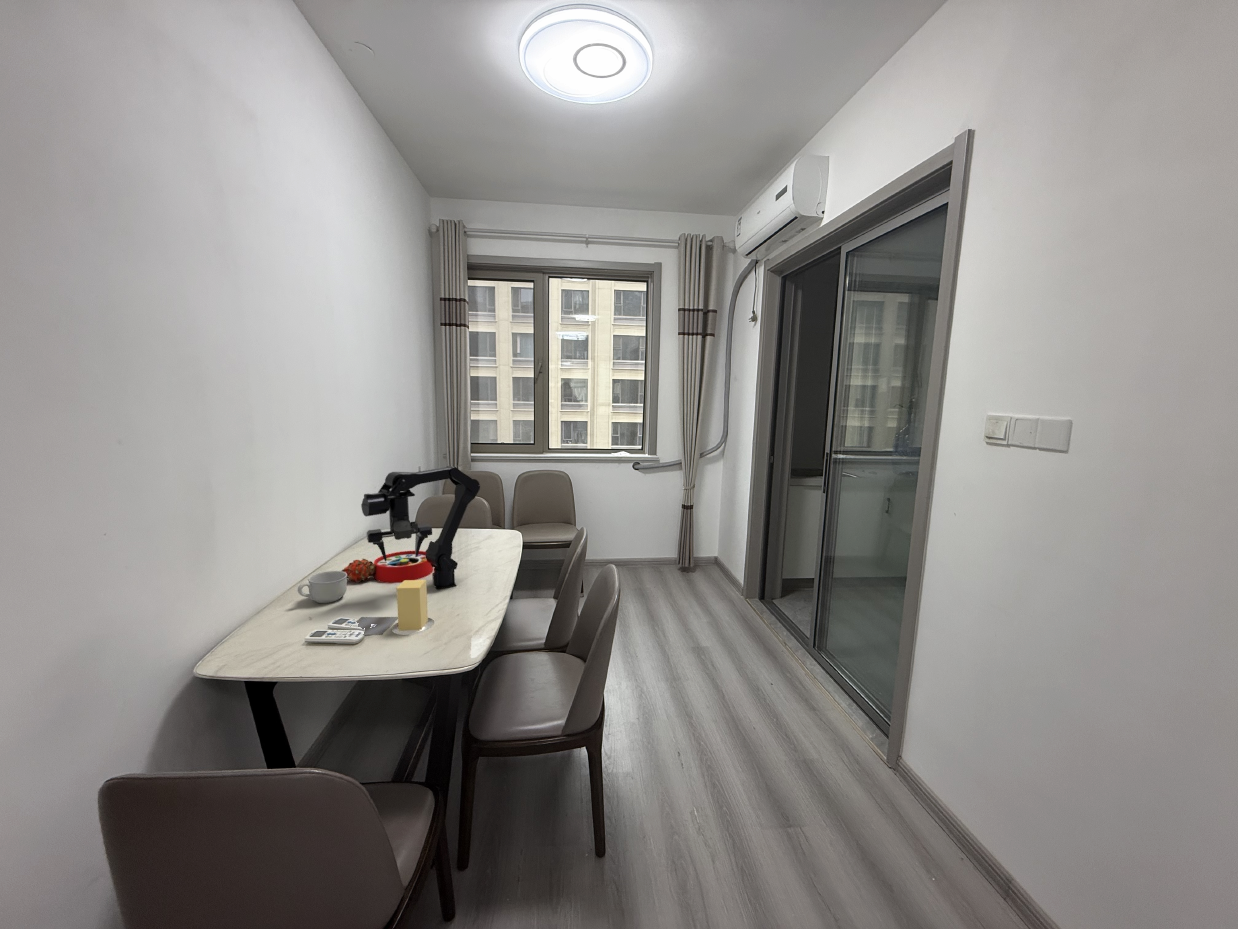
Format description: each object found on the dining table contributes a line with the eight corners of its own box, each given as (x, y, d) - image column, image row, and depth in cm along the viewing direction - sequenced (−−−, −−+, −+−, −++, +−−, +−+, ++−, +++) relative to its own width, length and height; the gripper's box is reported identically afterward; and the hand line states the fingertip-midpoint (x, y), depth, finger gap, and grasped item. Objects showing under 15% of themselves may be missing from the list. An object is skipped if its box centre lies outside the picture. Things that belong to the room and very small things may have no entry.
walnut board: (333, 643, 126) (332, 639, 126) (363, 616, 142) (363, 613, 142) (425, 643, 127) (424, 639, 127) (445, 616, 143) (445, 613, 143)
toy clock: (440, 559, 178) (382, 571, 165) (441, 574, 179) (383, 587, 166) (421, 547, 193) (367, 557, 180) (422, 561, 194) (368, 572, 181)
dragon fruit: (380, 583, 173) (343, 592, 169) (380, 564, 179) (344, 572, 175) (374, 570, 167) (336, 578, 164) (374, 551, 173) (337, 559, 169)
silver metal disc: (430, 614, 142) (429, 600, 142) (438, 629, 133) (437, 614, 132) (389, 623, 136) (388, 609, 136) (394, 639, 127) (394, 623, 126)
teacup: (342, 590, 162) (341, 567, 161) (352, 599, 155) (351, 575, 154) (294, 602, 153) (292, 577, 152) (302, 612, 145) (300, 587, 144)
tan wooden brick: (406, 620, 137) (404, 580, 136) (427, 620, 138) (426, 579, 136) (398, 630, 131) (396, 588, 130) (421, 629, 132) (419, 587, 130)
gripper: (368, 519, 142) (371, 570, 144) (435, 513, 152) (436, 560, 154) (365, 512, 151) (367, 560, 153) (427, 506, 161) (429, 551, 163)
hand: (401, 558), depth 155 cm, fingers open, 9 cm apart
